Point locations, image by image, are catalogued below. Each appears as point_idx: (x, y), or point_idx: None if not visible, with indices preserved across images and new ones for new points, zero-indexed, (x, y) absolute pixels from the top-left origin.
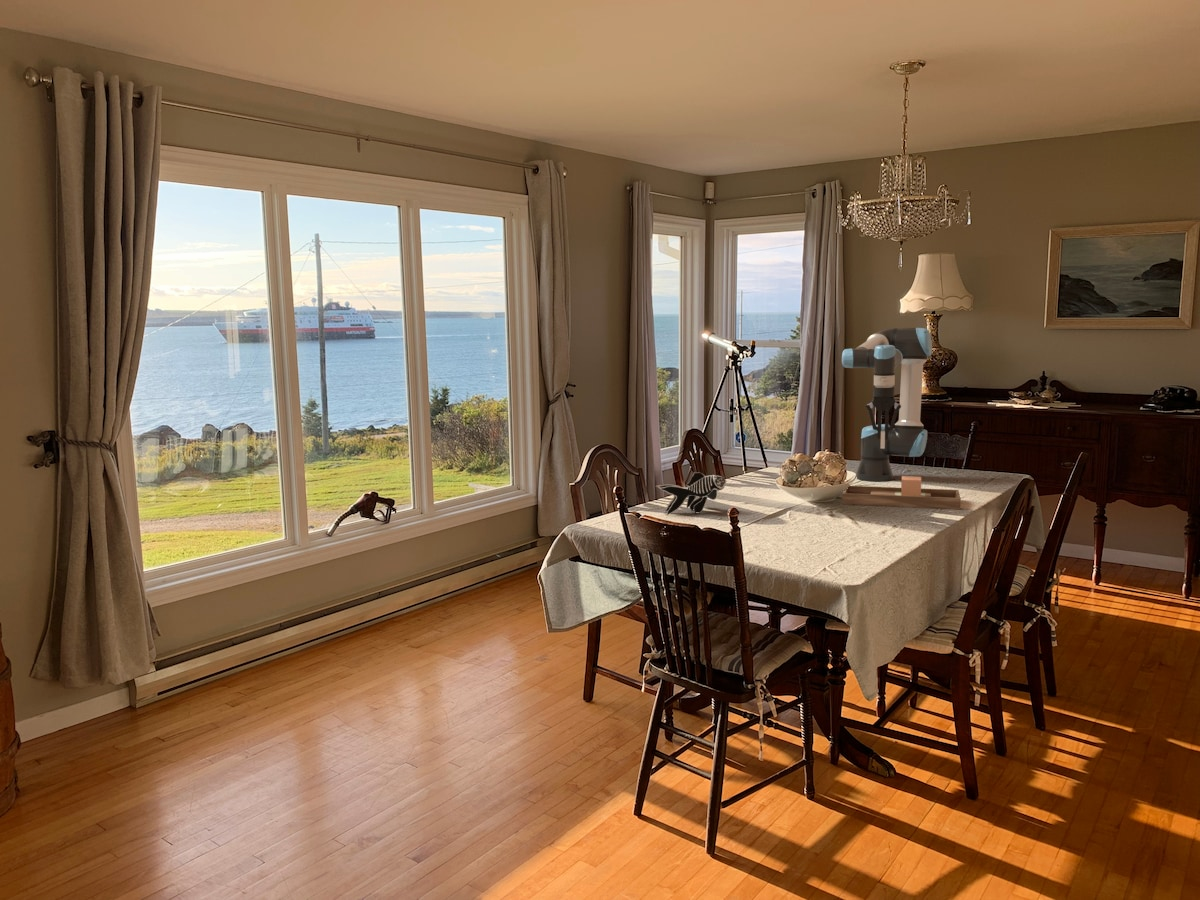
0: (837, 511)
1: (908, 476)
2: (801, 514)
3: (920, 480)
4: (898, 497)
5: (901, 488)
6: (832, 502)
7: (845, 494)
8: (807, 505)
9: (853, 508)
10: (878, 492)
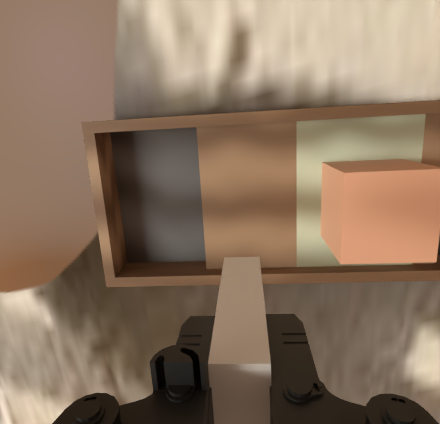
0: (127, 367)
1: (379, 173)
2: (42, 417)
3: (432, 261)
4: (312, 280)
5: (330, 247)
6: (85, 253)
7: (118, 285)
8: (23, 312)
9: (166, 321)
10: (229, 155)
